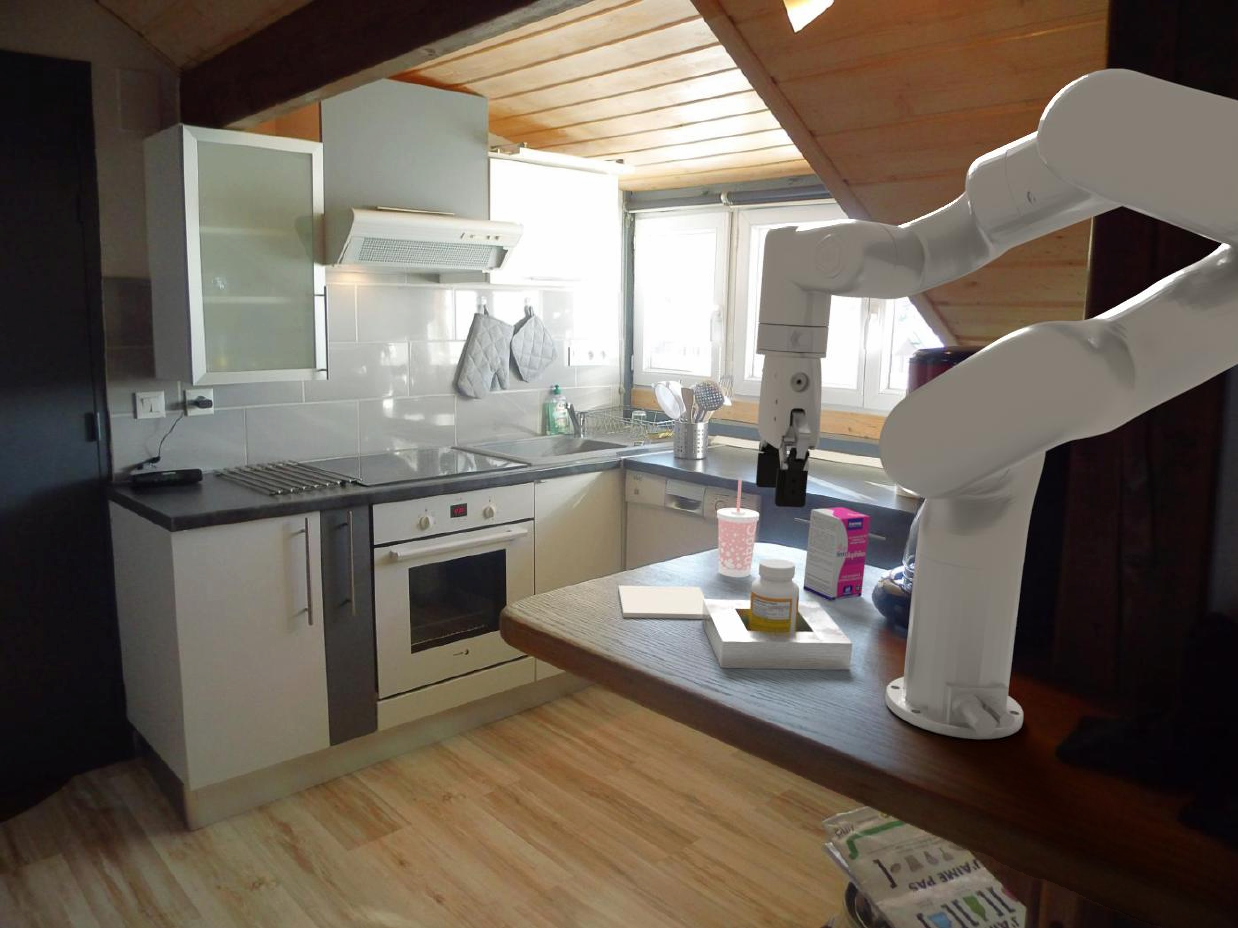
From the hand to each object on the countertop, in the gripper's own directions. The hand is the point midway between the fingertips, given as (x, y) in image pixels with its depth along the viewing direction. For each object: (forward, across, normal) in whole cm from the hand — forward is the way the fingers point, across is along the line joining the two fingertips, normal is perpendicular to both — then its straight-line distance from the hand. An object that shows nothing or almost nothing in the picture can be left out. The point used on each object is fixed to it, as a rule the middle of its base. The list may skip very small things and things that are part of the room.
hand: (778, 496), depth 102 cm
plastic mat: (+18, +14, +11) cm, 25 cm away
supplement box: (+18, +20, -13) cm, 30 cm away
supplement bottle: (+18, 0, 0) cm, 18 cm away
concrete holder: (+17, 0, 0) cm, 17 cm away
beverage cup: (+18, +28, -1) cm, 34 cm away
